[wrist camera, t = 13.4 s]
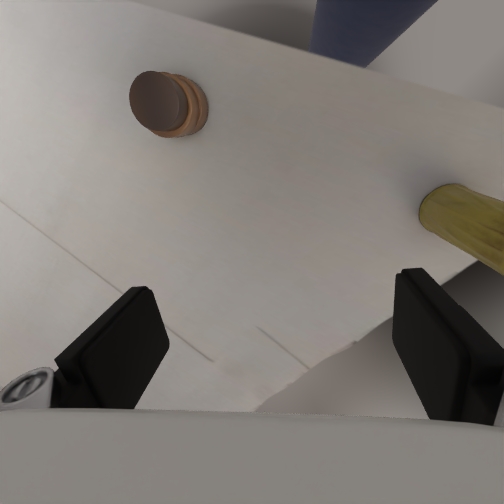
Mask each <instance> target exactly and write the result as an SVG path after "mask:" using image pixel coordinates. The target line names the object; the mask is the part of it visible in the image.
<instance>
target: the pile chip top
mask: <svg viewBox="0 0 504 504" xmlns="http://www.w3.org/2000/svg"><path fill="white" fill-rule="evenodd" d="M159 73H161V74H164V75H166V76H168V77H170V78H172V79H174V80H175V81H177V82H178V83H179V84H180V85H181V87H182V88H183V89H184V91H185V93H186V96H187V99H188V115H187V118H186V120H185V122H184V123H183V125H182V126H181V127H179V128H178V129H176V130H174V131H153V130H150V129H149V130H150V131H151V132H153V133H154V134H156V135H158V136H161V137H166V138H176V137H183V136H185V135H187V134H189V133H190V132H191V131H192V130H193V129H194V128H195V126H196V124H197V122H198V119H199V112H200V109H199V102H198V98H197V96H196V94H195V92H194V90H193V89H192V87H191V86H190V85H189V84H188V83H187V82H185V81H184V80H182V79H180V78H178V77H176V76H174V75H172V74H170V73H166V72H159Z"/></svg>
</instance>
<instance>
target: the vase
mask: <svg viewBox="0 0 504 504" xmlns="http://www.w3.org/2000/svg"><path fill="white" fill-rule="evenodd" d="M419 216H420V221H421V223H422V225H423V226H424V227H425V228H426V229H427V230H429V231H431V232H433V233H435V234H437V235H438V236H439V237H441V238H443V239H444V240H446V241H448V242H449V243H451V244H453V245H455V246H456V247H458V248H460V249H461V250H463V251H465V252H466V253H468V254H470V255H472V256H473V257H475V258H477V259H478V260H480V261H481V262H483V263H485V264H486V265H488V266H490V267H491V268H493V269H494V270H496V271H497V272H499V273H500V274H502V275H503V276H504V202H503V201H501V200H498V199H495V198H492V197H489V196H486V195H483V194H480V193H478V192H475V191H472V190H470V189H468V188H467V187H465V186H463V185H459V184H449V185H445V186H442V187H439V188H438V189H436V190H434V191H433V192H432V193H430V194H429V195H428V196H427V197H426V198H425V200H424V201H423V203H422V205H421V207H420V212H419Z"/></svg>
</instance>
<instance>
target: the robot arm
mask: <svg viewBox="0 0 504 504" xmlns="http://www.w3.org/2000/svg"><path fill="white" fill-rule="evenodd" d="M392 339H393V343H394V346H395V348H396V350H397V353H398V355H399V357H400V359H401V361H402V363H403V365H404V367H405V369H406V371H407V373H408V375H409V377H410V379H411V382H412V384H413V386H414V388H415V390H416V392H417V394H418V396H419V398H420V400H421V402H422V404H423V406H424V409H425V411H426V412H427V415H428V417H429V419H430V420H429V419H410V418H389V417H370V416H369V417H368V416H344V415H315V414H314V415H313V414H286V413H255V412H221V411H185V410H144V409H134V408H135V406H136V404H137V403H138V401H139V399H140V398H141V396H142V394H143V392H144V391H145V389H146V387H147V386H148V384H149V382H150V380H151V379H152V377H153V375H154V373H155V372H156V370H157V368H158V367H159V365H160V363H161V361H162V360H163V358H164V356H165V354H166V353H167V351H168V349H169V338H168V336H167V333H166V330H165V327H164V324H163V321H162V318H161V315H160V312H159V309H158V306H157V303H156V300H155V297H154V294H153V292H152V290H150V289H149V288H148V287H146V286H140V287H131V288H130V289H129V290H128V291H127V292H126V293H124V294H123V295H122V296H121V297H120V298H119V299H118V300H117V301H116V302H115V303H114V304H113V305H112V306H111V307H110V308H109V309H107V310H106V311H105V312H104V313H103V314H102V315H101V316H100V317H99V318H98V319H97V320H96V321H95V322H94V323H93V324H92V325H90V326H89V327H88V328H87V329H86V330H85V331H84V332H83V333H82V334H81V335H80V336H79V337H78V338H77V339H76V340H75V341H73V342H72V343H71V344H70V345H69V346H68V347H67V348H66V349H65V350H64V351H63V352H62V353H61V354H60V355H59V356H57V357H56V358H55V359H54V360H55V362H56V364H57V366H58V367H59V369H58V370H57V371H56V372H54V371H53V369H51V368H50V367H41V368H36V369H34V370H31V371H28V372H26V373H24V374H22V375H20V376H19V377H17V378H16V379H14V380H13V381H11V382H10V383H9V384H7V385H6V386H5V387H4V388H3V389H2V390H1V391H0V504H504V349H503V348H502V347H501V346H500V345H499V344H498V343H497V342H496V341H495V340H494V339H493V338H492V337H491V336H490V335H489V334H488V333H487V332H486V331H485V330H484V329H483V328H482V326H480V324H478V322H476V320H475V319H474V318H473V317H472V316H471V315H470V314H469V313H468V312H467V311H466V310H465V309H464V308H462V307H461V306H460V305H458V304H457V303H456V302H455V301H454V300H453V299H452V298H451V297H450V296H449V295H448V294H447V293H446V292H445V291H444V290H443V289H442V288H441V286H440V285H439V284H438V283H437V282H436V281H435V280H434V279H433V278H432V277H431V276H430V275H429V274H428V273H427V272H426V271H425V270H424V269H423V268H410V269H403V270H402V271H401V273H397V274H396V280H395V296H394V313H393V330H392Z"/></svg>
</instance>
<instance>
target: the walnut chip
mask: <svg viewBox="0 0 504 504" xmlns="http://www.w3.org/2000/svg"><path fill="white" fill-rule="evenodd" d="M129 100H130V106H131V109H132V112H133V114H134V116H135V117H136V119H137V120H138V121H139V122H140V123H141V124H142V125H143V126H144V127H146V128H148V129H150V130H153V131H174V130H176V129H178V128H179V127H181V126H182V125H183V123H184V122H185V120H186V118H187V115H188V99H187V96H186V93H185V91H184V89H183V88H182V87H181V85H180V84H179V83H178V82H177V81H175V80H174V79H172V78H170V77H168V76H166V75H164V74H161V73H159V72H156V71H146V72H143V73H141V74H140V75H138V76H137V77H136V78H135V80H134V81H133V83H132V85H131V88H130V94H129Z"/></svg>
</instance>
